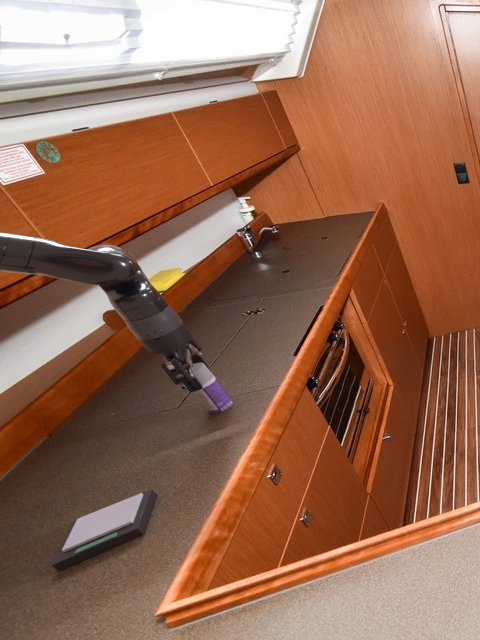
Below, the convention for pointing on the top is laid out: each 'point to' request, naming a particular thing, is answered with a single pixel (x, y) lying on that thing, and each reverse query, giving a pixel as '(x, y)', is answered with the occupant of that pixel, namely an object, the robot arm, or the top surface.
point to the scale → (105, 529)
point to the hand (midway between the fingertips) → (200, 379)
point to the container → (210, 390)
